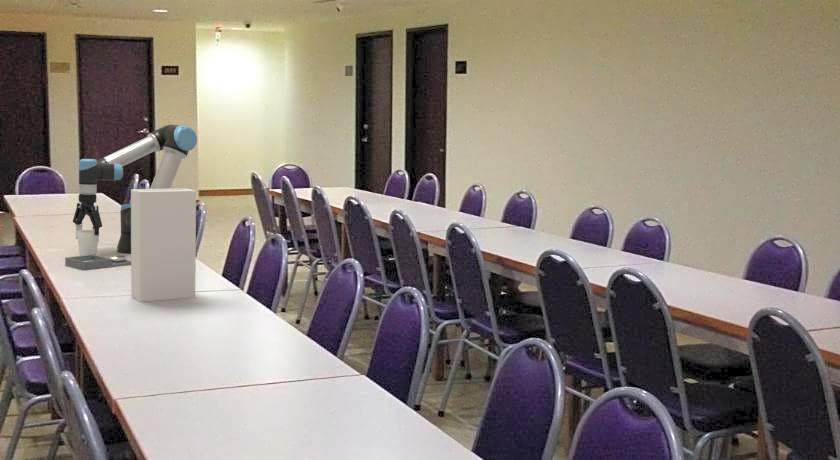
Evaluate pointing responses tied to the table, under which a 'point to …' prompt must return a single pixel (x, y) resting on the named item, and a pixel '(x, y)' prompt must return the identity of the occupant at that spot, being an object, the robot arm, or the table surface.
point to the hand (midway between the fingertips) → (87, 240)
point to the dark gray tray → (92, 262)
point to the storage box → (163, 244)
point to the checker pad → (116, 258)
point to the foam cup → (86, 243)
